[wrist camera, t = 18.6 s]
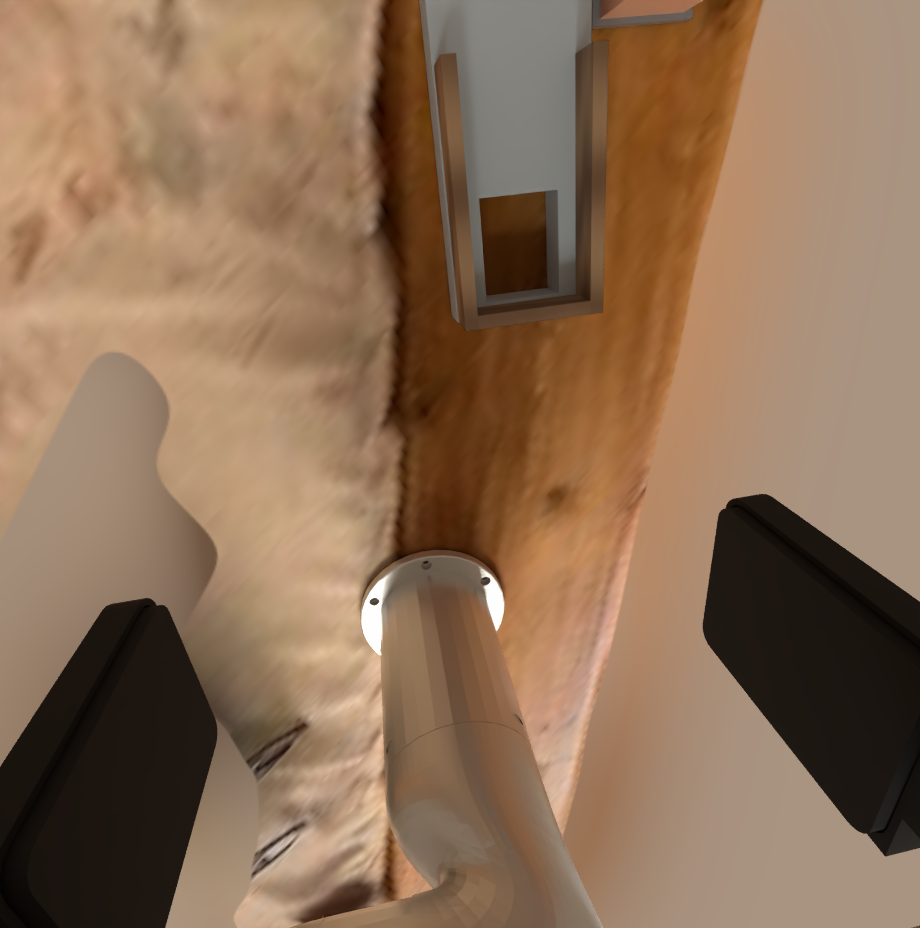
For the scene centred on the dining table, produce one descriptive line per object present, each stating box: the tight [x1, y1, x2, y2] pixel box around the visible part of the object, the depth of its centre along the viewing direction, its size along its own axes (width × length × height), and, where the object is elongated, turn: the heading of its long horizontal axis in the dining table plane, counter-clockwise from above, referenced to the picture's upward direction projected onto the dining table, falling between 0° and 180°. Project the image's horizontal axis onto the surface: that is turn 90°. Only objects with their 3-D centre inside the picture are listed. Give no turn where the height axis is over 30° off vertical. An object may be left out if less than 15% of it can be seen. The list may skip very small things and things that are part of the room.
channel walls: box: [434, 40, 609, 331], centre depth 31 cm, size 14×9×3 cm, turn 6°
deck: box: [419, 0, 592, 323], centre depth 31 cm, size 22×9×2 cm, turn 6°
